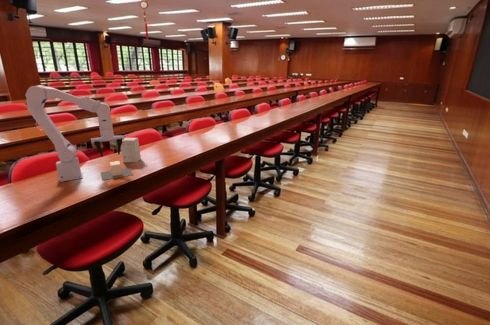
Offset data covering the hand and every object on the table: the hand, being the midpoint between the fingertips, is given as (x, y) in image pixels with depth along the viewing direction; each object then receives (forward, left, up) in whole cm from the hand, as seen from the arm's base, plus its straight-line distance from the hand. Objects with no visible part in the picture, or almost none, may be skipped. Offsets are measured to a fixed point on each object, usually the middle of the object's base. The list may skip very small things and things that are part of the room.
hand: (110, 155), depth 137 cm
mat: (+1, -3, -9) cm, 10 cm away
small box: (+11, +15, -10) cm, 21 cm away
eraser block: (+1, -3, -9) cm, 10 cm away
